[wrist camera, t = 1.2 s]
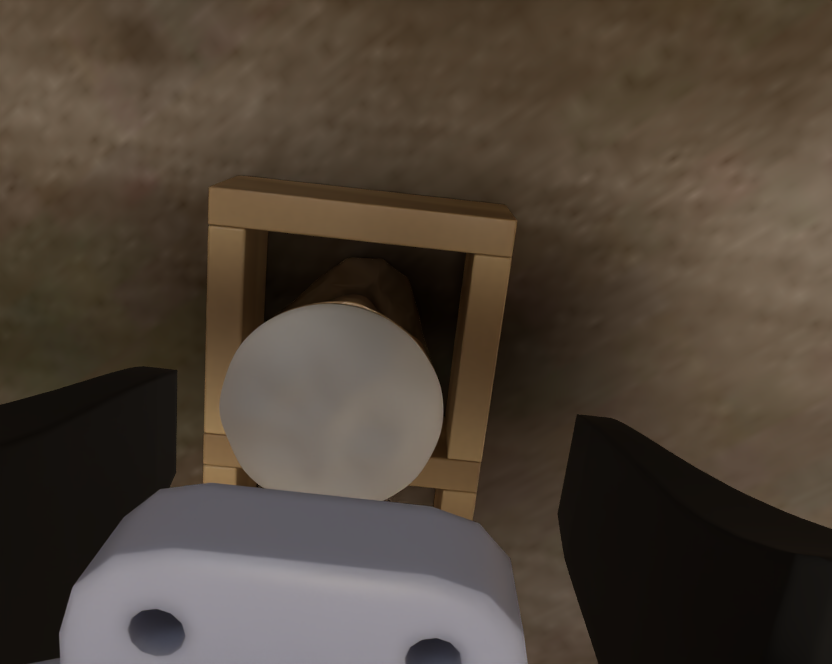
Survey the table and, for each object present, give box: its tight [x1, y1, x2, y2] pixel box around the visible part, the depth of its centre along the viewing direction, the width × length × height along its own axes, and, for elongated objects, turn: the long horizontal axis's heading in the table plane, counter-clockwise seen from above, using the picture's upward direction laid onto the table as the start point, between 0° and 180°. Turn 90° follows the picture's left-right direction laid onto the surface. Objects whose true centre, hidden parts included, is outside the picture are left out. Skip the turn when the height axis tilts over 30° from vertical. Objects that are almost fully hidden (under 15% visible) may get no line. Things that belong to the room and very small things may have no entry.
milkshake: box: [219, 257, 443, 501], centre depth 18 cm, size 5×5×10 cm
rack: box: [203, 175, 517, 521], centre depth 22 cm, size 15×8×3 cm, turn 174°
